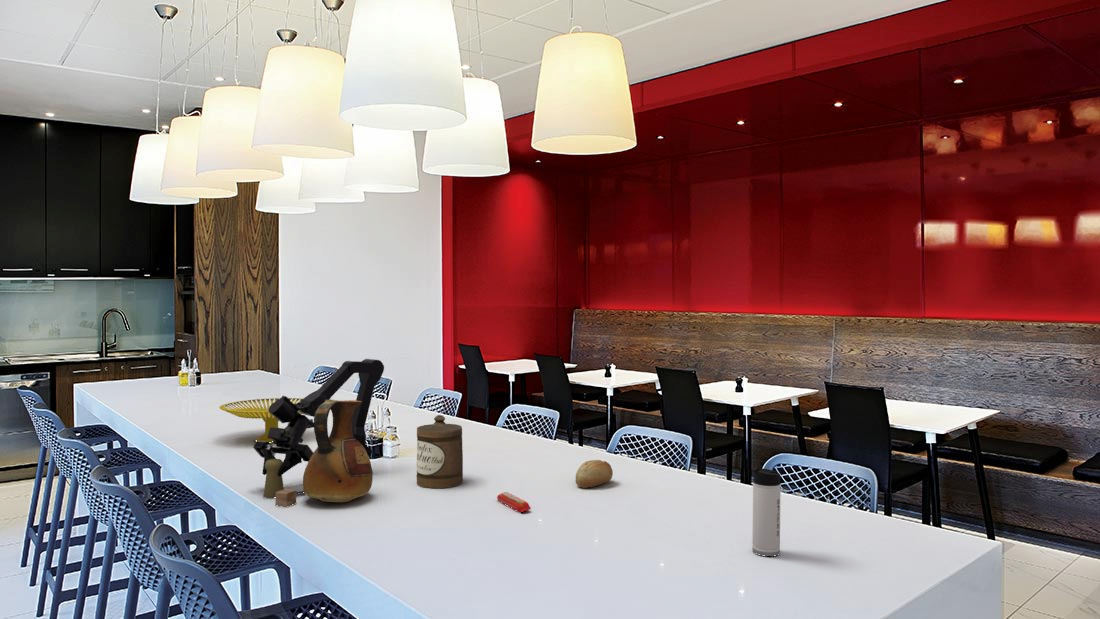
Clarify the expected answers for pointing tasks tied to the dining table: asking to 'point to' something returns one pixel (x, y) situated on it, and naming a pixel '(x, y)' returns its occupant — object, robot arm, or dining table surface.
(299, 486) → the coaster
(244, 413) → the cake stand
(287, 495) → the walnut block
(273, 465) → the cork
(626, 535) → the dining table surface
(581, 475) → the bread roll
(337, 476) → the ceramic pitcher
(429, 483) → the wooden container
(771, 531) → the travel mug
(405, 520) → the dining table surface
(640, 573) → the dining table surface
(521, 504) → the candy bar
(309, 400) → the robot arm
